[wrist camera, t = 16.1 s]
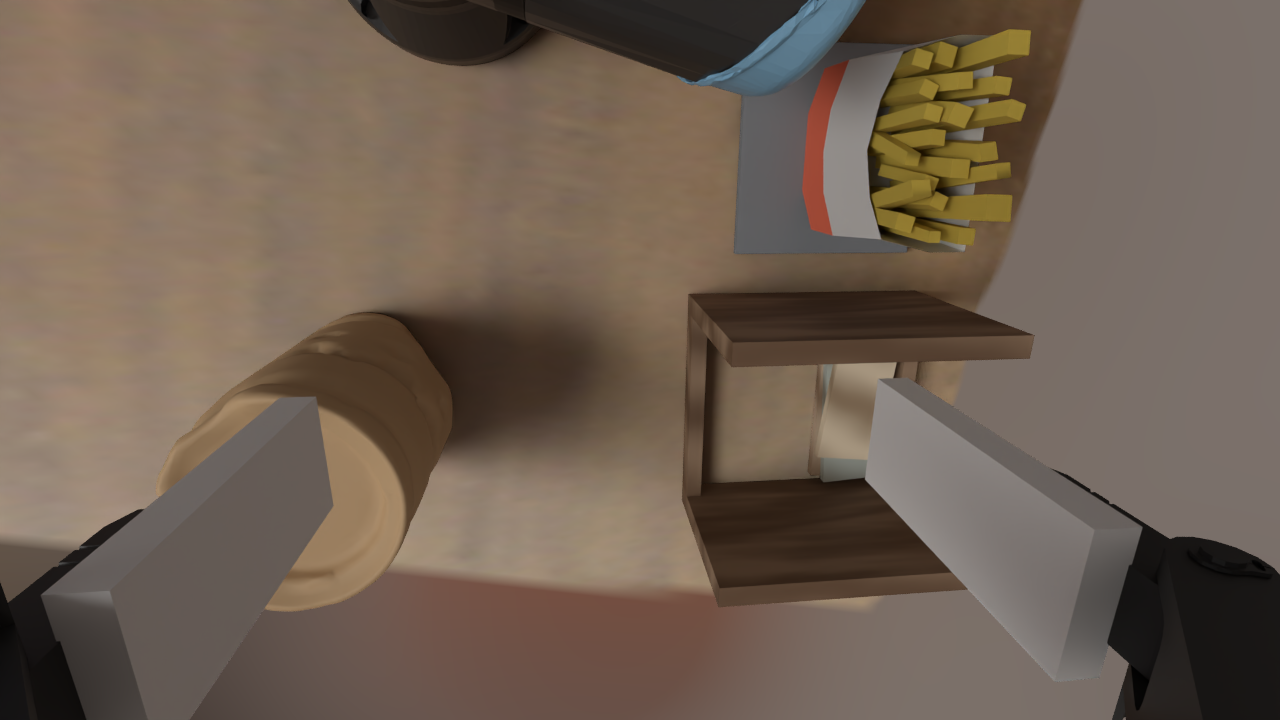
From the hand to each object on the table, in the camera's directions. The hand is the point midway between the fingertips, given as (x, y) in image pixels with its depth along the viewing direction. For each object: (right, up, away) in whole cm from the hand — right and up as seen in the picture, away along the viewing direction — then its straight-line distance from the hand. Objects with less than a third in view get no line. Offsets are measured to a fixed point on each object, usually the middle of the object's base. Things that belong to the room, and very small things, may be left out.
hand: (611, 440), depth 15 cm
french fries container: (+15, +18, +32) cm, 40 cm away
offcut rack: (+14, -1, +39) cm, 41 cm away
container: (-20, 0, +35) cm, 40 cm away
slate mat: (+15, +18, +33) cm, 40 cm away
